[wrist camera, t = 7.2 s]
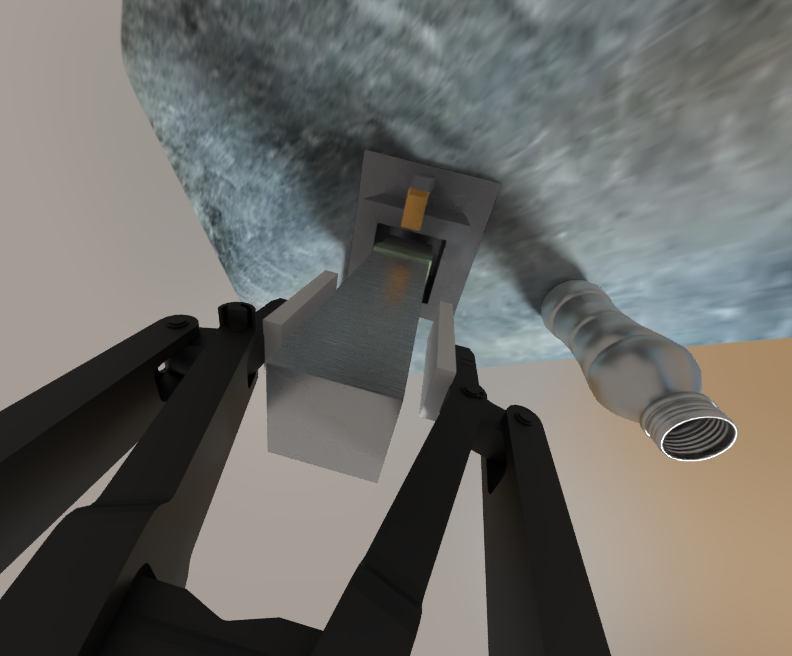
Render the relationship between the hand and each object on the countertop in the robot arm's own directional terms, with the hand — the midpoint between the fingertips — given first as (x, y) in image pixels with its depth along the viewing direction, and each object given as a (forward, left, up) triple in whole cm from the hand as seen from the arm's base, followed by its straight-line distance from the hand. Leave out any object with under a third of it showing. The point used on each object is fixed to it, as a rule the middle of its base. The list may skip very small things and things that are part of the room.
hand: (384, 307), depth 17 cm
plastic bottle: (+2, +19, -18) cm, 26 cm away
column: (0, 0, -11) cm, 11 cm away
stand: (0, 0, -18) cm, 18 cm away
